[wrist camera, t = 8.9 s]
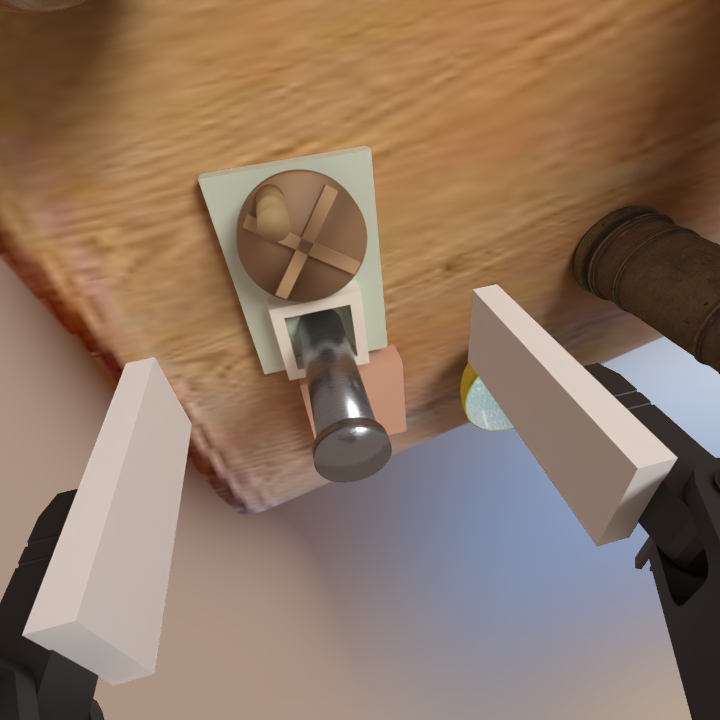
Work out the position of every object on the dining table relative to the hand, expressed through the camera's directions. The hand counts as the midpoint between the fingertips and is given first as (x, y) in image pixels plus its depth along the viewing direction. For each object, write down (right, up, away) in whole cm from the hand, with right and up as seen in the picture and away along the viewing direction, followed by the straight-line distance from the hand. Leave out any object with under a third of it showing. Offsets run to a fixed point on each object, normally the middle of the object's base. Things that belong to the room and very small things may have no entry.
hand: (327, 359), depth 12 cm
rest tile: (0, -3, +32) cm, 32 cm away
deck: (-3, +8, +22) cm, 24 cm away
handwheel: (-3, +9, +17) cm, 20 cm away
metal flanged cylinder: (-3, +3, +24) cm, 24 cm away
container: (+26, +11, +28) cm, 40 cm away
